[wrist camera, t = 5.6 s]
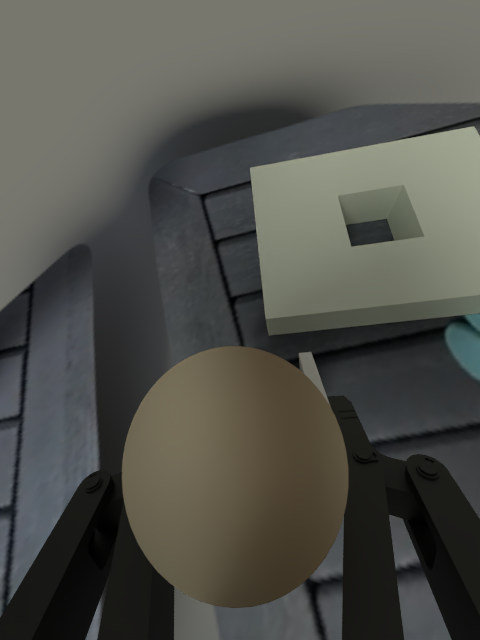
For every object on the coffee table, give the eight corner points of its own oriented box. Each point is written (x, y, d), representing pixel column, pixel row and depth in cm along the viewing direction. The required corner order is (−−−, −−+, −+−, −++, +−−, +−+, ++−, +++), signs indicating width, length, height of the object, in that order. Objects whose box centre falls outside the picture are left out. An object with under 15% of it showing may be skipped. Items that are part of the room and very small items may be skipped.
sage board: (268, 335, 23) (265, 319, 20) (254, 199, 29) (249, 167, 26) (519, 309, 21) (569, 284, 17) (448, 166, 27) (474, 126, 23)
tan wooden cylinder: (229, 479, 20) (103, 611, 6) (226, 397, 22) (129, 353, 8) (311, 476, 19) (383, 617, 5) (299, 391, 21) (327, 332, 7)
